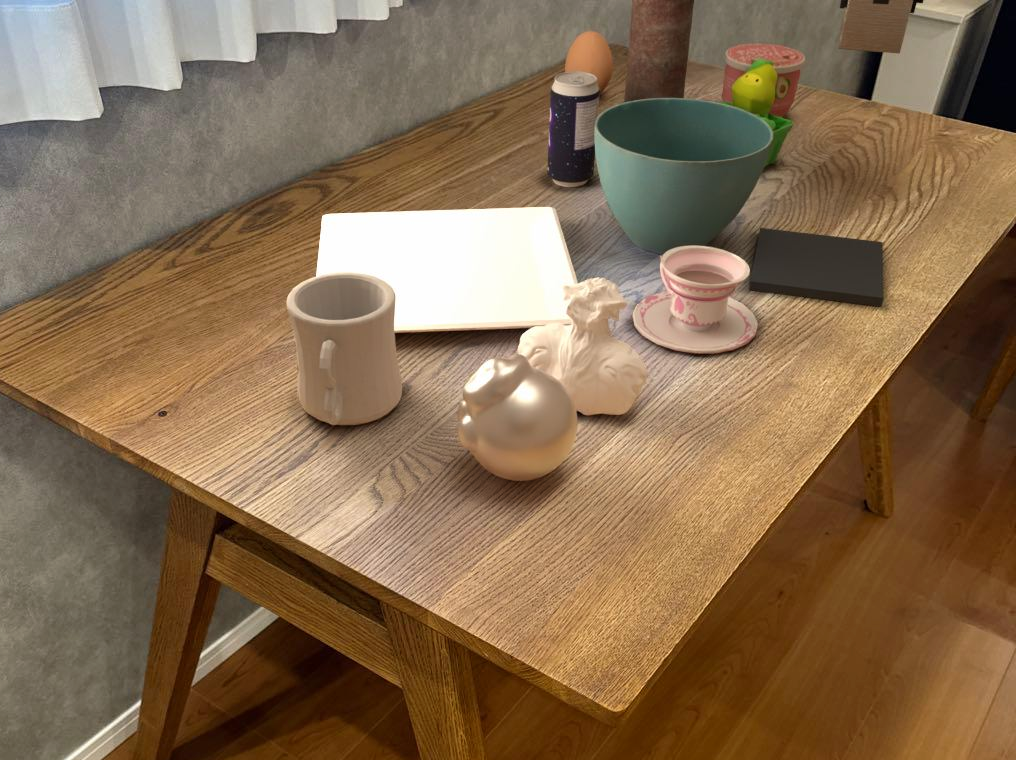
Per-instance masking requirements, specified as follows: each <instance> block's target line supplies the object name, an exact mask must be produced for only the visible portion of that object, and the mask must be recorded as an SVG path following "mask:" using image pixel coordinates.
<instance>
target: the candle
mask: <svg viewBox="0 0 1016 760" xmlns="http://www.w3.org/2000/svg"><path fill="white" fill-rule="evenodd" d="M694 5H695V0H632V1H631V13H630V26H629V36H628V38H629V39H628V53H627V61H626V62H627V63H626V73H625V74H626V75H625V77H626V78H625V84H624V85H625V86H624V97H623V98H624V99H623V103H625V102H630V101H635V100H641V99H652V98H685V88H686V77H687V71H688V70H687V69H688V61H689V53H690V41H691V39H690V38H691V32H692V26H693V15H694Z"/></svg>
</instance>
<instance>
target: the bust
mask: <svg viewBox="0 0 1016 760" xmlns="http://www.w3.org/2000/svg"><path fill="white" fill-rule="evenodd" d="M562 289H563V291H564V293H565V294H564V297H563V300H564V301H567V300H569V299H571V300H570V302H569V304H568V305H567V309H566V314H567V315H568V316H569V318H570V319H571V320H572V325H569V326H565V325H564V324H561V323H552V324H549V325H546V326H535V327H532V328H528V330H526V331H525V332H524V333H522V335H520V338H519V344H518V346H517V354H521V355H523V356H525V357H526V358H527V359H528V361H529V363H530V365H531V366H533V367H534V368H536V369H539V370H542V371H544V372H546V373H548V374H550V375H552V376H553V377H554V378H556V379H557V380H558V381H559V382H560V383H561V384H562V385H563V386H564V387H565V388H566V390H567V391H568V392H569V394H570V396H571V398H572V400H573V402H574V405H575V408H576V412H579V413H581V414H582V415H584V416H594V415H600V414H603V415H604V414H605V415H613V416H614V415H615V416H620V415H624V414H625V413H627V412H629V410H630V409H631V407H632V406H633V404H634V403H635V401H636V400H637V398H638V396H639V394H640V393H641V391H642V389H643V386H644V384H646V380H647V378H648V376H649V372H648V370H647V367H646V364H645V362H644V360H643V358H642V357H641V355H640V354H639V353H637V351H636V350H635V349H634V348H633V347H632V346H631V345H630V344H628V343H627V342H626V341H623V340H621V339H615V338H614V337H613V336H612V330H611V328H610V325H609V323H610V322H609V318H610V319H613V320H615V321H619V320H620V313H621V310H624V309H625V308H626V307H627V306H628V302H627V300H626V299H625V298H624V297H623V295H622V294H621V293H620V289H619V287H618V285H617V284H616V283H614V282H613V281H611V280H609V279H606V278H605V276H602V277H595V278H594V277H593V278H588V279H585V280H584V281H581V282H578V283H575V284H573V285H571V286H567V285H563V286H562Z"/></svg>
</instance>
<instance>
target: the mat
mask: <svg viewBox="0 0 1016 760" xmlns="http://www.w3.org/2000/svg"><path fill="white" fill-rule="evenodd" d="M883 254H884V253H883V241H878V240H871V239H870V240H869V239H860V238H852V237H843V236H835V235H827V234H826V235H825V234H818V233H811V232H810V233H809V232H801V231H791V230H783V229H775V228H774V229H773V228H766V227H759V230H758V236H757V243H756V246H755V254H754V258H753V262H752V268H751V272H750V280H749V284H748V290H749V291H756V292H764V293H772V294H779V295H788V296H796V297H804V298H810V299H817V300H826V301H832V302H833V301H835V302H842V303H850V304H858V305H866V306H873V307H882V305H883V301H884V259H883V258H884V257H883Z"/></svg>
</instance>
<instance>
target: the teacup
mask: <svg viewBox="0 0 1016 760" xmlns="http://www.w3.org/2000/svg"><path fill="white" fill-rule="evenodd" d="M659 259H660V263H659V272H660V277H661V280H662V282H663V284H664V287H665V289H666V290H664V291H658V292H657V293H654V294H651V295H649V296H646V297H644V298H643V299H642V300H641V301H639V302H638V303H637V304H636V305H635V307H634V309H633V312H632V316H631V318H632V322H633V325H634V328H635V329H636V330H637V331H638V333H639V334H641V336H642V337H644V338H646V339H647V340H649V341H650V342H652V343H654V344H656V345H658V346H661V347H664V348H667V349H670V350H673V351H677V352H683V353H689V354H719V353H723V352H724V353H725V352H730V351H734V350H737V349H738V348H741V347H743V346H745V345H748V344H749V342H751V341H752V340H753V338H755V337H756V334H757V330H758V326H759V322H758V320H757V317H756V315H755V313H754V312H753V311H752V310H751V309H750V308H749V307H747V306H746V305H745V304H744V303H742V302H741V301H738V300H736V299H735V298H732V297H731V296H732V294H733V293H734V292H735V291H736V289H737V287H739V286H740V285H741V284H742V283H743V282H744V281H745V280H746V279H747V278H748V277H749V276H750V275H751V269H750V266H749V264H748V263H747V262H746V261H745V260H744V259H743V258H742V257H740V256H738V255H737V254H735V253H733V252H730V251H727V250H725V249H722V248H717V247H713V246H708V245H706V246H681V247H676V248H673V249H670V250H668V251H667V252H665V253H664V254H662V255H659Z"/></svg>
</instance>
